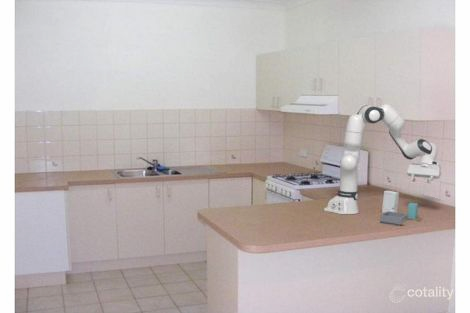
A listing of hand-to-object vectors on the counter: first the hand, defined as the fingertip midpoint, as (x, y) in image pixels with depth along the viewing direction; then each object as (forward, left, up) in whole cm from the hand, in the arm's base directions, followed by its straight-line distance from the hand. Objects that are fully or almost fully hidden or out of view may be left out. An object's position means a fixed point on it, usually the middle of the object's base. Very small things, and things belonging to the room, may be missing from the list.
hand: (420, 181), depth 332 cm
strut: (0, -12, -21) cm, 24 cm away
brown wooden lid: (0, -12, -23) cm, 26 cm away
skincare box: (-17, -4, -23) cm, 29 cm away
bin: (-7, -25, -23) cm, 35 cm away
